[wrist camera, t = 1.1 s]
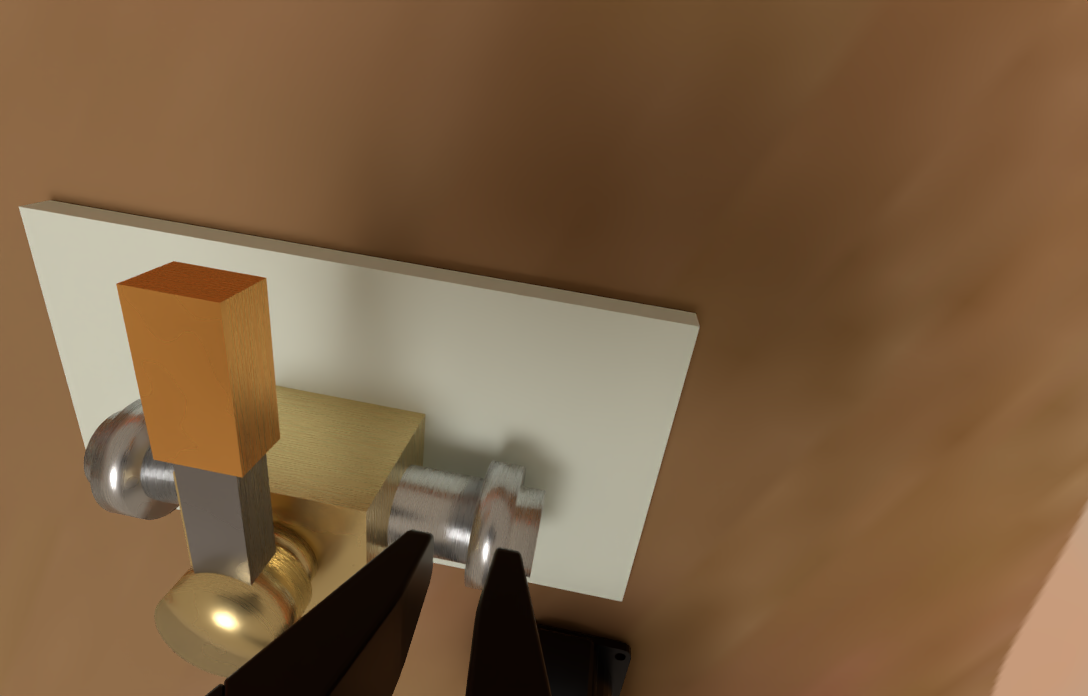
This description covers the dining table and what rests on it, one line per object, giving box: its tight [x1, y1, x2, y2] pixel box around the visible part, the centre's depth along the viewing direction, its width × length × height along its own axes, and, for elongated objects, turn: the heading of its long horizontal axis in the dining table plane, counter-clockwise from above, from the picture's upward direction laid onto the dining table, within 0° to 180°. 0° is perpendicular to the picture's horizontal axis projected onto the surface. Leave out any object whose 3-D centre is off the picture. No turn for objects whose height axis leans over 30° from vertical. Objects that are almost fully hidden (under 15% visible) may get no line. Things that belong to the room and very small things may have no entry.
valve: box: [84, 385, 546, 616], centre depth 20 cm, size 16×5×6 cm, turn 83°
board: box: [19, 200, 700, 602], centre depth 22 cm, size 13×24×1 cm, turn 83°
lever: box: [116, 261, 312, 678], centre depth 14 cm, size 12×3×2 cm, turn 173°
